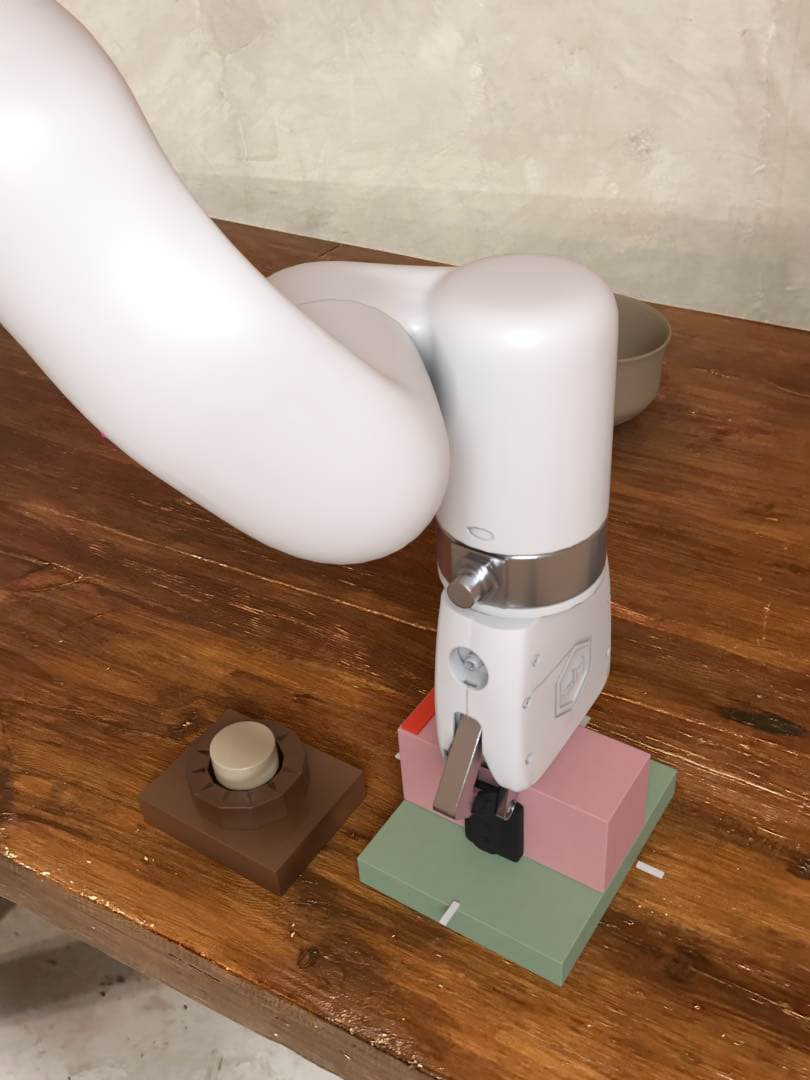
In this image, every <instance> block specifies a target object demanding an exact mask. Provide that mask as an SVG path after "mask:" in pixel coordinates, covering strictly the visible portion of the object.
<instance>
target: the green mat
mask: <svg viewBox="0 0 810 1080" xmlns="http://www.w3.org/2000/svg"><path fill="white" fill-rule="evenodd" d="M591 719H592V717H591V716H589V715H587V714H586V715H585V716H584V718H583V719H582V721H581V722H580V724H579V725H580V726H582V727H585V728H586V726H587V725H588V724H589V722H590V721H591ZM394 758H395V759H397V760H399V761H400V752H397V753H396V754H395V755H394ZM677 774H678V770H677V768H673V767H671V766H668V765H666V764H664V763H661V762H658V761H656V760H653V759H651V758H650V769H649V779H648V789H647V799H646V809H645V819H644V826H643V828H642V829H641V831H640V833H639V834H638V836H637V838H636V839H635V841H634V843H633V844H632V846H631V848H630V849H629V851H628V853H627V854H626V856H625V858H624V859H623V861H622V863H621V864H620V866H619V868H618V869H617V871H616V873H615V875H614V876H613V878H612V880H611V881H610V883H609V885H608V886H607V888H606V890H605V891H604V893H601V892H599V891H597V890H595V889H593V888H591V887H589V886H586V885H584V884H582V883H580V882H578V881H576V880H574V879H572V878H570V877H568V876H565V875H563V874H561V873H559V872H557V871H555V870H553V869H551V868H549V867H547V866H544V865H542V864H540V863H538V862H536V861H534V860H532V859H530V858H528V857H525V856H523V855H522V857H521V858H520V860H519V861H518V862H512V861H510V860H508V859H506V858H504V857H502V856H500V855H498V854H489V853H487V852H485V851H483V850H481V849H479V848H478V847H476V846H475V845H474V843H472V842H471V841H469V840H468V839H467V838H466V836H465V828H464V827H462V826H460V825H458V824H456V823H454V822H452V821H450V820H448V819H446V818H443V817H441V816H439V815H437V814H435V813H433V812H431V811H429V810H427V809H425V808H422V807H420V806H418V805H416V804H414V803H412V802H410V801H408V800H406V799H404V798H403V799H404V800H402V802H401V803H400V804H399V805H398V806H397V808H396V809H395V810H394V812H392V814H391V815H390V817H388V819H387V820H386V821H385V823H383V825H382V826H381V827H380V829H379V830H378V831H377V832H376V833H375V835H374V836H373V837H372V838H371V840H370V841H369V842H368V844H366V846H365V847H364V849H363V850H361V852H360V853H359V855H358V856H357V857H356V863H357V870H358V876H359V881H360V883H363V884H364V885H366V886H368V887H369V888H372V889H374V890H376V891H378V892H380V893H381V894H383V895H386V896H387V897H389V898H390V899H393V900H395V901H397V902H398V903H400V904H402V905H404V906H406V907H408V908H410V909H412V910H413V911H416V912H417V913H419V914H421V915H423V916H425V917H427V918H429V919H431V920H433V921H434V922H436V923H439V924H441V925H442V926H444V927H446V928H448V929H450V930H452V931H453V932H456V933H458V934H459V935H461V936H463V937H465V938H467V939H469V940H470V941H472V942H475V943H476V944H478V945H480V946H481V947H484V948H486V949H487V950H489V951H492V952H494V953H495V954H497V955H499V956H501V957H503V958H504V959H507V960H508V961H510V962H512V963H515V964H516V965H518V966H519V967H522V968H523V969H526V970H528V971H529V972H532V973H533V974H535V975H537V976H539V977H540V978H543V979H544V980H547V981H548V982H550V983H552V984H554V985H556V986H558V987H560V988H562V987H563V985H564V983H565V981H566V980H567V978H568V977H569V975H570V973H571V971H572V970H573V969H574V966H575V964H576V963H577V961H578V960H579V958H580V956H581V955H582V953H583V951H584V950H585V947H586V946H587V944H588V943H589V941H590V939H591V937H592V935H594V932H595V930H596V929H597V927H598V925H599V923H600V922H601V920H602V918H603V917H604V915H605V913H606V912H607V910H608V908H609V907H610V905H611V903H612V901H613V899H614V898H615V896H616V895H617V893H618V891H619V889H620V888H621V886H622V884H623V883H624V882H625V879H626V878H627V876H628V874H629V873H630V870H631V869H632V867H633V865H634V864H635V862H636V861H637V859H638V857H639V855H640V853H641V852H642V850H643V848H644V847H645V845H646V843H647V841H648V840H649V838H650V837H651V836H652V835H651V834H652V833H653V831H654V830H655V828H656V825H657V824H658V823H659V821H660V820H661V817H662V816H663V814H664V813H665V811H666V809H667V808H668V805H669V804H670V802H671V801H672V799H673V797H674V795H675V790H676V783H677V776H678V775H677ZM635 868H636V869H639V870H641V871H643V872H645V873H647V874H649V875H651V876H654V877H656V878H658V879H661V880H662V879H663V877H664V876H665V871H663V870H660V869H658V868H656V867H654V866H651V865H650V864H647V863H645V862H643V861H640V860H638V861H637V863H636V865H635Z"/></svg>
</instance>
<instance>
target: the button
mask: <svg viewBox="0 0 810 1080" xmlns="http://www.w3.org/2000/svg"><path fill="white" fill-rule="evenodd" d="M210 757H211V761H212V765H213V769H214V773H215V777H216V779H217V780H218V781H219V783H220V784H222V785H223V786H224V787H226V788H228V789H231V790H236V791H247V790H252V789H255V788H258V787H260V786H262V785H264V784H266V783H267V782H268V781H269V780H270V779H272V777H273V776H274V775H275V773H276V771H277V769H278V766H279V757H278V752H277V747H276V741H275V737H274V734H273V733H272V731H271V730H270V729H269V728H268V727H267V726H265V725H263V724H261V723H258V722H252V721H243V722H237V723H234V724H231V725H229V726H227V727H225V728H223V729H222V730H220V731H219V732H218V733H217V734H216V735H215V737H214V738H213V740H212V742H211V744H210Z"/></svg>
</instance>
